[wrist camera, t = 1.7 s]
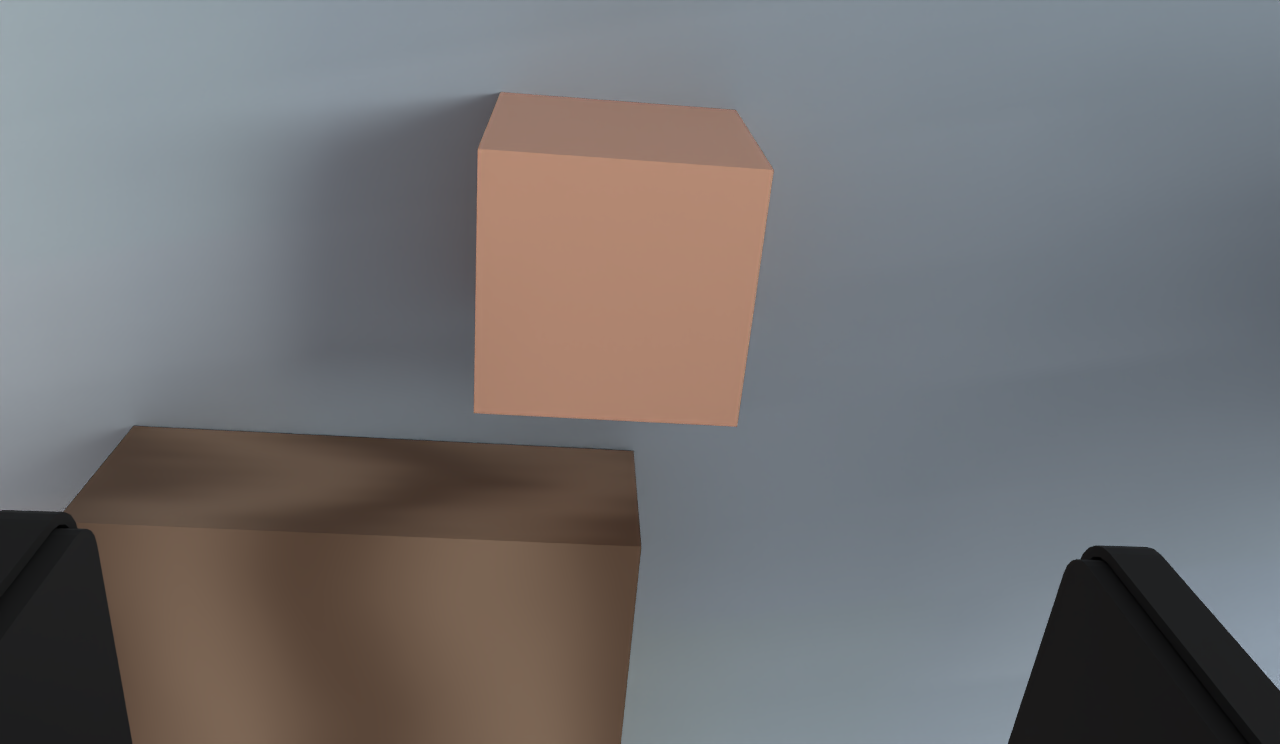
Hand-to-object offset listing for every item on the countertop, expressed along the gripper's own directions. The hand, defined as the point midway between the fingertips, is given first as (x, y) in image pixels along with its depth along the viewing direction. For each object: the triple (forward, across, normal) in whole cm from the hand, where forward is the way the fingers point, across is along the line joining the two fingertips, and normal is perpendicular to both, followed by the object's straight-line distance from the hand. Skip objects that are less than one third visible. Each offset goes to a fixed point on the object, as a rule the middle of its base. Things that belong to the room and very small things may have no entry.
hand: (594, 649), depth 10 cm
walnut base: (+14, +4, +12) cm, 19 cm away
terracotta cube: (+14, -1, 0) cm, 14 cm away
